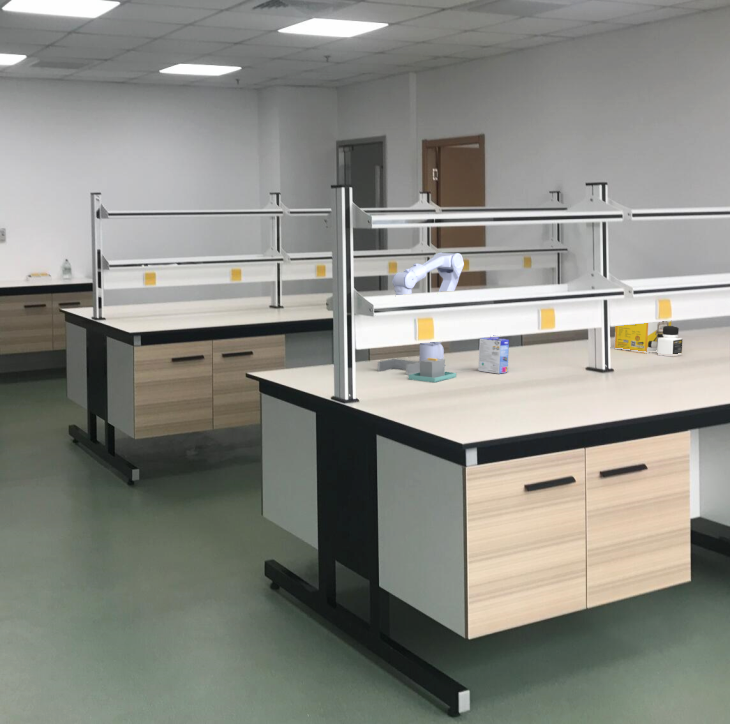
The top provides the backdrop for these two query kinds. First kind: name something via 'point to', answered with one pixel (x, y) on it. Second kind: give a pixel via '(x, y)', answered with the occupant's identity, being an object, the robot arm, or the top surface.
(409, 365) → the printer bay
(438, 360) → the toner caddy
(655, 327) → the packaging box
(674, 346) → the medicine bottle
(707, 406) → the top surface
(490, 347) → the ink cartridge box
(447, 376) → the teal tray
